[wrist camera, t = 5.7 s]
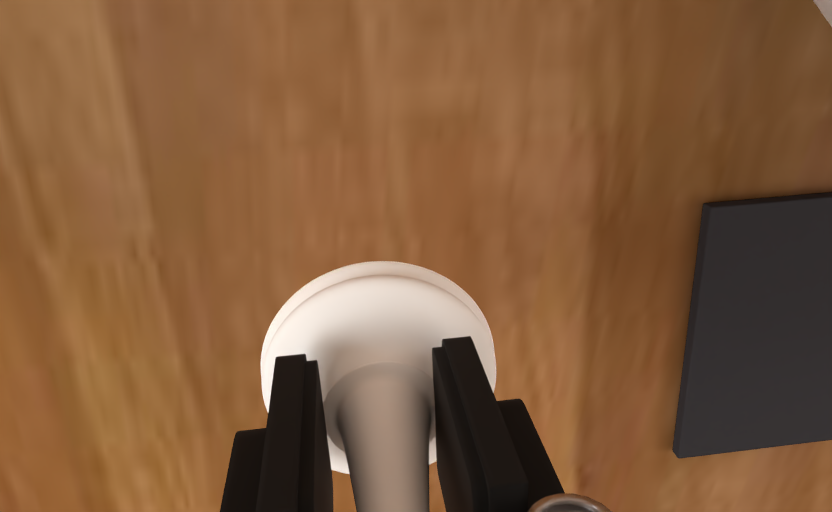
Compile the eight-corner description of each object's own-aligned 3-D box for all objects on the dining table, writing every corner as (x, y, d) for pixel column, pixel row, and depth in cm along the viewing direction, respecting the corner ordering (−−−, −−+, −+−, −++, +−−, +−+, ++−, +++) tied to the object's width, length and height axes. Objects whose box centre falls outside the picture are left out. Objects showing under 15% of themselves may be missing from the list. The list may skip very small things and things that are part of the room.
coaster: (671, 450, 25) (677, 459, 25) (702, 202, 21) (710, 207, 21) (912, 421, 26) (922, 429, 26) (983, 178, 22) (996, 182, 22)
